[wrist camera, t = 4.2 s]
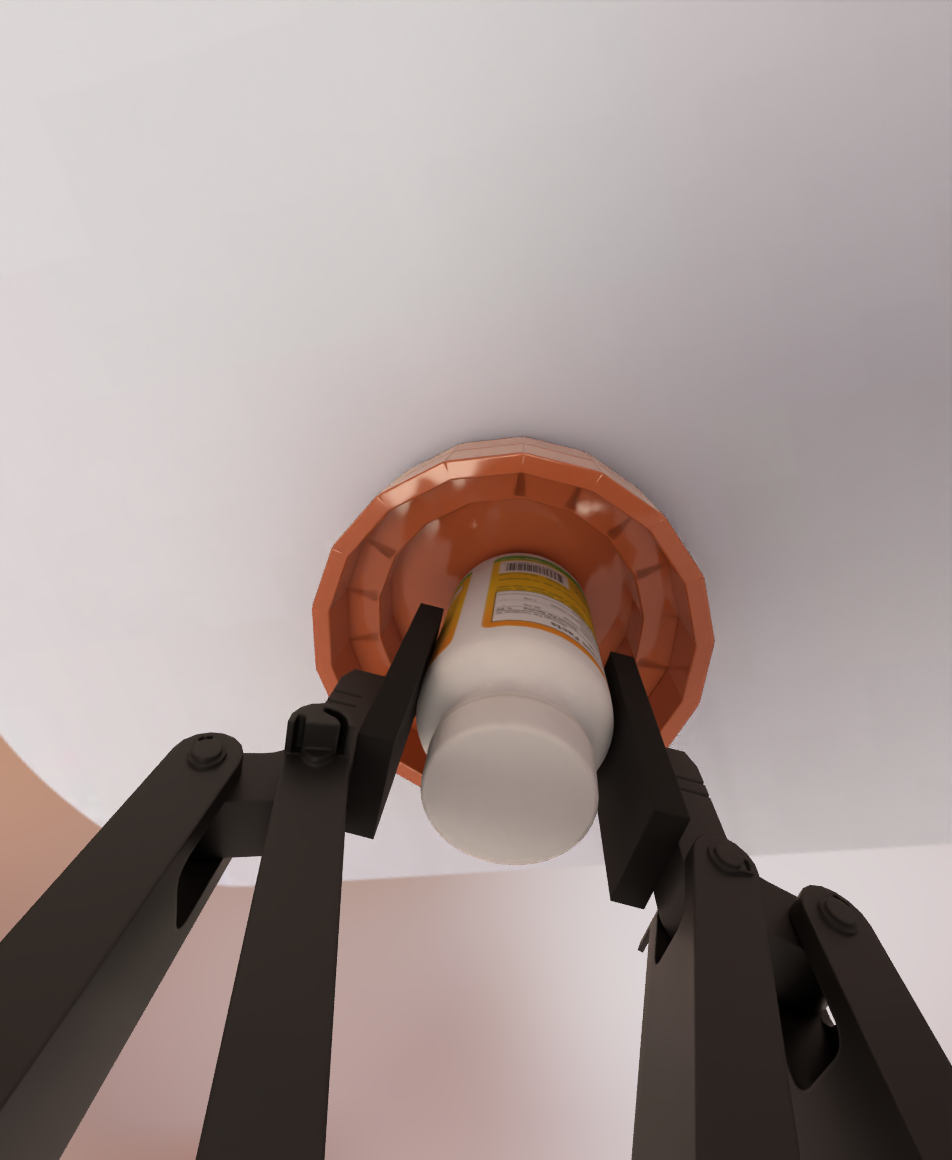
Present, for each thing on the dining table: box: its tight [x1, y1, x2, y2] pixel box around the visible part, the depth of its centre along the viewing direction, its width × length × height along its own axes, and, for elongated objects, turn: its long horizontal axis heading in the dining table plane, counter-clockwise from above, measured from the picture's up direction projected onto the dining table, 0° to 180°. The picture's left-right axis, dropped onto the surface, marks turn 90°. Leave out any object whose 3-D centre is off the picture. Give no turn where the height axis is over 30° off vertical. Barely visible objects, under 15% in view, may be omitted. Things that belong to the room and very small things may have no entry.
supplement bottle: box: [416, 553, 614, 865], centre depth 16 cm, size 5×5×10 cm
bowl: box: [312, 437, 715, 787], centre depth 20 cm, size 13×13×4 cm
